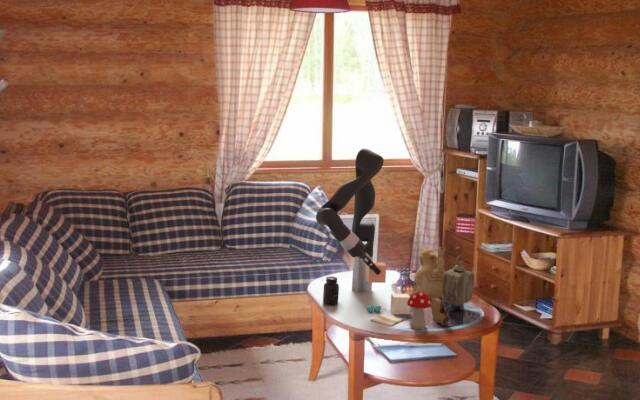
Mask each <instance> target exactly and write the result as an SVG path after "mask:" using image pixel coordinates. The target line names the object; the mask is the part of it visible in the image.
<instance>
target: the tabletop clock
mask: <svg viewBox="0 0 640 400" xmlns="http://www.w3.org/2000/svg"><path fill="white" fill-rule="evenodd" d="M460 257H461V260H459V261H458V259H459V258H460ZM463 262H464V255H463V254H459V255H458V256H457V257H456V259H455V263H456V265H454V266H453V268H450V269H448V270H447V271H446V270H445V271H446V272H445V273H444V276H443V283H442V298H441V300H442V301H443V302H444V303H448V305H447V306H446V307H445V312H447V311H448V310H449V307H450V306H451V305H454V306H455V307H456V306H457V307H458V306H459V308H458V309H459V311H460V312H462V311H464V308H463V307H462V305H464V304H467V303H468V302H470V301H471V300H472V299H473V297H474V296H473V294H474V287H475V274H474V273H473V272H472V271H470V270H466V268H465V266H464V265H462V263H463Z"/></svg>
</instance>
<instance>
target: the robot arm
mask: <svg viewBox="0 0 640 400" xmlns="http://www.w3.org/2000/svg"><path fill="white" fill-rule="evenodd" d="M384 162H385V161H384V158H383V156H381V155H380V154H378V153H377V152H374V151H372V150H370V149H368V148H362V149H360V150H359V151H358V153H357V154H356V158H355V165H354V166H355V178H354V179H352V180H349V181H347V182H345V183H343V184H342V185H340V186H339V187H338V188H337V190H336V191H334V193H333V195H332V196H331V197H330V198H329V200H327V201H326V202H325V203H324V204H323V205H322V206H321V207H320V208H319V209H318V211H317V212H316V215H315V220H316V222H317V224H319V225H322V226H327V227H328V228H329V229H330V231H331V233H330V234H331V235H332V236H333V238H334V239H336V240H337V241H338V243H339V244H340V245H341V247H342V248H343V249H344V250H345V251H346V252H347V253H348V254H349V255H350V256H351V257H352V261H353V264H352V279H351V280H352V281H351V282H352V283H351V291H352V292H354V293H359V294H368V293H371V292H372V290H373V289H372V288H373V283H370V282H368V281H367V280H366V271H367V266H369V267H370V269H372V270H373V271H374V272H375V273H376V274H377V275H379V274H380V273H381V271H380V270H379V269H378V268H377V267H376V265H375V264H374V263H373V262H374V242H375V234H376V226H375V224H374V222H371V221H369V222H368V221H363V219H364V218H365V216H367V214H369V213H370V212H371V210H372V209H373V208H374V206H375V203H376V202H375V200H376V190H375V187H374V184H373V182H372V179H373V178H374V177H376V175H377V174H379V172H380V171H381V169H382V168H383V166H384ZM353 197H354V203H353V204H354V207H353V218H352V225H351V229H350V228H349V227H348V226H347V225H346V224H345V223H344V221H343V220H342V218H341V216H340V215H339V214H338V212H340V211H341V210H343V209H344V208H345V207H346V205H348V204H349V202H350V201H351V200H352V199H353ZM364 242H366V243H364ZM371 263H372V264H373V265H371V266H370V264H371Z"/></svg>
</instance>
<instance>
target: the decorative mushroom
mask: <svg viewBox="0 0 640 400" xmlns="http://www.w3.org/2000/svg"><path fill="white" fill-rule="evenodd" d="M409 296H410V298H409V299H408V302H407V305H408V306H410V308H413V309H414V310H413V314H412V318H411V320H410V321H409V325H410V328H411V327H412V329H414V328H418V329H417V330H421V329H422V328H424V329H426V328H427V321H426V317H425V312H424V311H425V310H424V309H428V308H430V307H431V305H432V302H431V300H432V299H430V298H429V296H428V295H427V294H426V293H424V292H416V291H415V292H413V293H412V294H411V295H409ZM422 330H423V329H422Z"/></svg>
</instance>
